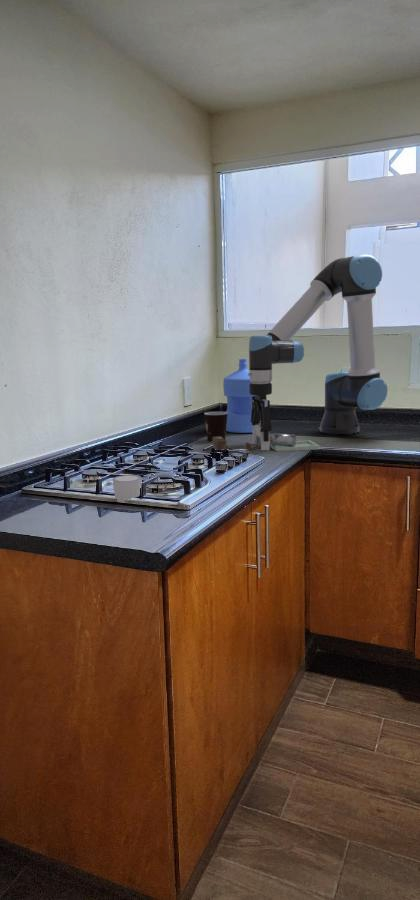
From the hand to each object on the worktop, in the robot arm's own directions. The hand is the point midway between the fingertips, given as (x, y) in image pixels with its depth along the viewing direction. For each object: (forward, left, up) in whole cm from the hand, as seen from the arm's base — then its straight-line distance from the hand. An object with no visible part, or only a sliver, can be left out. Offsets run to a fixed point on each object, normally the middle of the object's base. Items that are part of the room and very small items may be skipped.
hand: (260, 447), depth 205 cm
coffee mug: (+11, -19, 0) cm, 22 cm away
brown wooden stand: (+9, +3, 0) cm, 9 cm away
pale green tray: (-11, +4, 0) cm, 11 cm away
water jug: (-3, -36, 0) cm, 36 cm away
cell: (0, 0, 0) cm, 0 cm away
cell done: (-11, +4, +2) cm, 12 cm away
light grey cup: (+47, +57, 0) cm, 74 cm away
